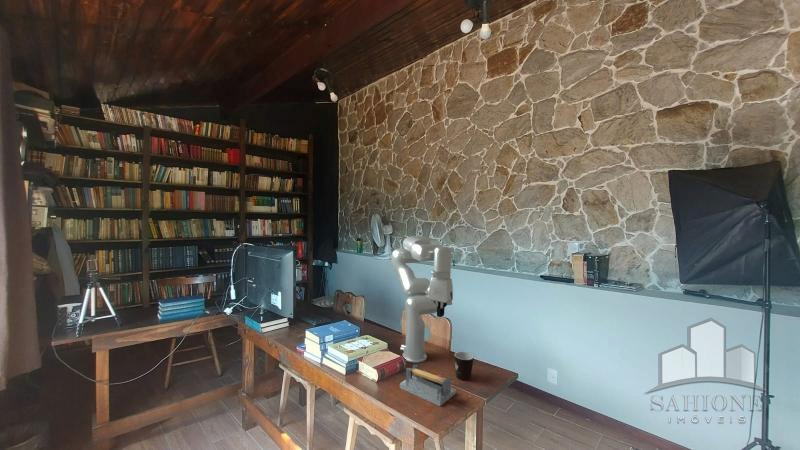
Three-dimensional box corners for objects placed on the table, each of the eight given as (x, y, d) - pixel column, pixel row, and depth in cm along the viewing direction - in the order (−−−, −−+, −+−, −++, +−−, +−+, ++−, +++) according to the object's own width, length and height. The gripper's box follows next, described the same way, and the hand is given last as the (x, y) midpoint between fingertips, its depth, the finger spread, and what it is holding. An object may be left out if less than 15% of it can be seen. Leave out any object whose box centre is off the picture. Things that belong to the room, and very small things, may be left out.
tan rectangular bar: (408, 373, 142) (408, 369, 142) (413, 370, 145) (413, 366, 145) (442, 385, 132) (442, 381, 132) (446, 382, 134) (446, 378, 134)
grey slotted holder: (399, 387, 140) (400, 369, 140) (416, 377, 149) (417, 360, 149) (439, 406, 127) (440, 386, 127) (455, 393, 137) (456, 374, 136)
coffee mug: (473, 383, 146) (474, 360, 145) (453, 380, 147) (454, 358, 147) (472, 371, 157) (473, 350, 157) (454, 368, 159) (455, 348, 158)
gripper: (422, 273, 147) (421, 314, 147) (452, 278, 137) (450, 322, 138) (432, 271, 153) (430, 310, 153) (461, 276, 143) (459, 318, 144)
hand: (440, 316), depth 146 cm, fingers closed
